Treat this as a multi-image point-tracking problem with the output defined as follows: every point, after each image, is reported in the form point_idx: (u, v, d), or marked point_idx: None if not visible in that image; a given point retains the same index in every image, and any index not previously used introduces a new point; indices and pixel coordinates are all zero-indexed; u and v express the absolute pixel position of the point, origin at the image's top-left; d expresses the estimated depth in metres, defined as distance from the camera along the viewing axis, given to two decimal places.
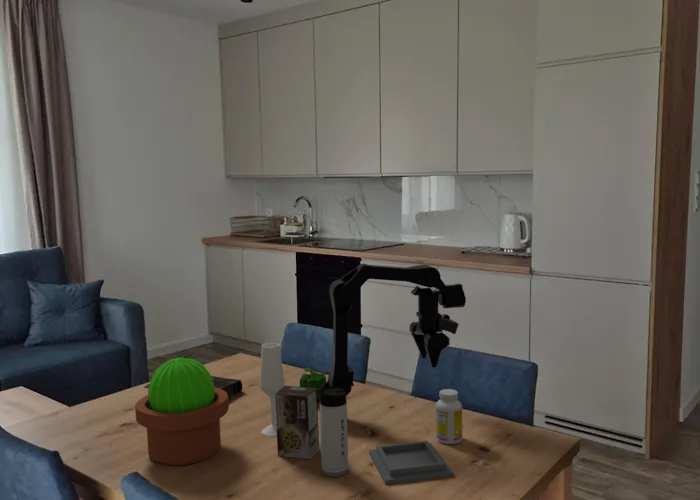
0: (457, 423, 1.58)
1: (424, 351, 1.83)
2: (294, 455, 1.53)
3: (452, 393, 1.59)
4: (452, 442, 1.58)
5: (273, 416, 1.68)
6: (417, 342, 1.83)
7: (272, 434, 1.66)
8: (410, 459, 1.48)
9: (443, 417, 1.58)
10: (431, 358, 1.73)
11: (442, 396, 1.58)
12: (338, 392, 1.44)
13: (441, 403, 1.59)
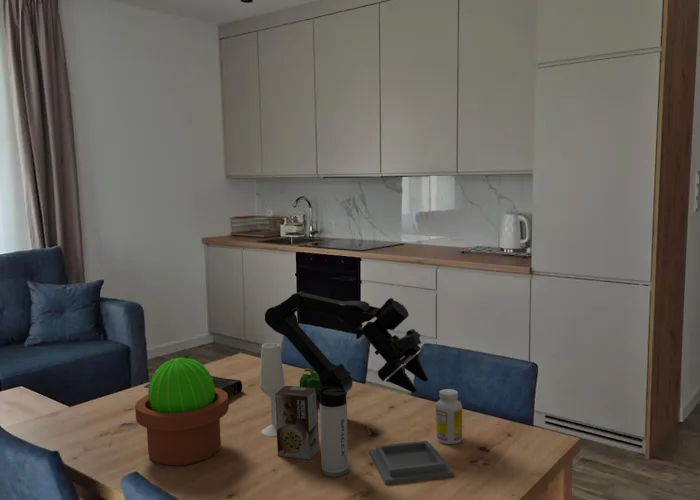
0: (457, 423, 1.58)
1: (421, 374, 1.68)
2: (294, 455, 1.53)
3: (452, 393, 1.59)
4: (452, 442, 1.58)
5: (273, 416, 1.68)
6: (410, 370, 1.69)
7: (272, 434, 1.66)
8: (410, 459, 1.48)
9: (443, 417, 1.58)
10: (403, 386, 1.59)
11: (442, 396, 1.58)
12: (338, 392, 1.44)
13: (441, 403, 1.59)
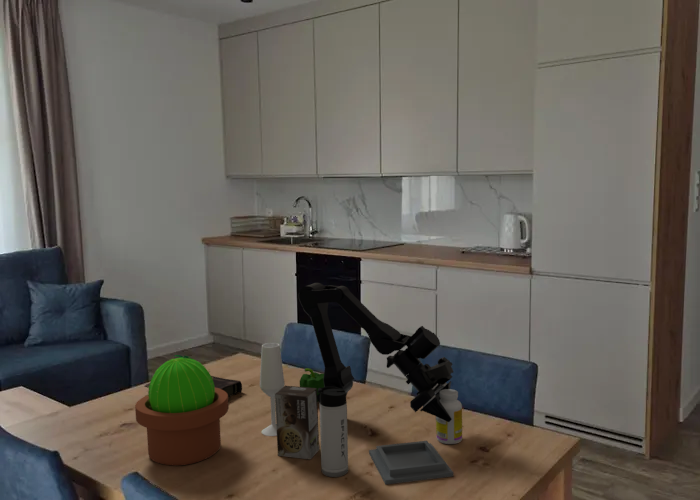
0: (457, 423, 1.58)
1: None
2: (294, 455, 1.53)
3: (452, 393, 1.59)
4: (452, 442, 1.58)
5: (273, 416, 1.68)
6: None
7: (272, 434, 1.66)
8: (410, 459, 1.48)
9: None
10: (438, 415, 1.57)
11: (442, 396, 1.58)
12: (338, 392, 1.44)
13: (441, 403, 1.59)
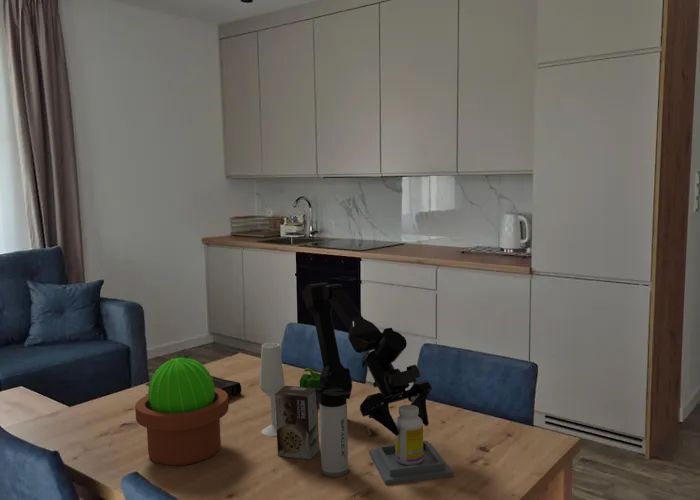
0: (411, 443, 1.44)
1: (423, 417, 1.49)
2: (294, 455, 1.53)
3: (409, 410, 1.45)
4: (404, 463, 1.45)
5: (273, 416, 1.68)
6: None
7: (272, 434, 1.66)
8: None
9: None
10: (386, 426, 1.45)
11: (399, 411, 1.46)
12: (338, 392, 1.44)
13: (398, 418, 1.46)
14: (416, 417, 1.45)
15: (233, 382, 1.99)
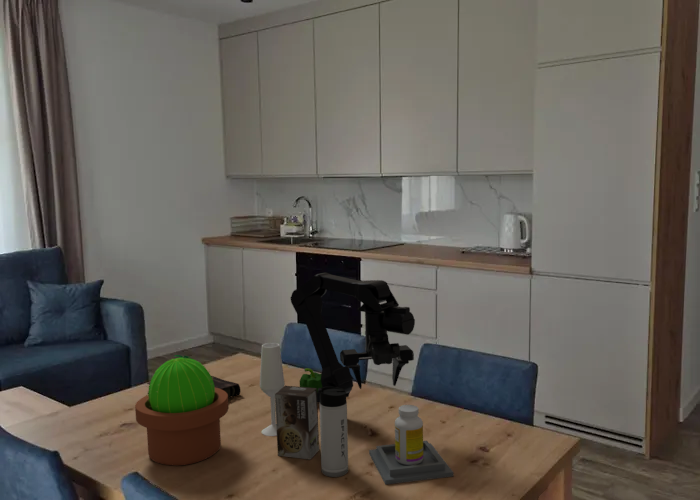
0: (411, 443, 1.44)
1: (393, 378, 1.65)
2: (294, 455, 1.53)
3: (409, 410, 1.45)
4: (404, 463, 1.45)
5: (273, 416, 1.68)
6: (393, 365, 1.66)
7: (272, 434, 1.66)
8: None
9: (396, 434, 1.46)
10: (355, 376, 1.64)
11: None
12: (338, 392, 1.44)
13: (398, 418, 1.46)
14: (416, 417, 1.45)
15: (232, 383, 1.97)
